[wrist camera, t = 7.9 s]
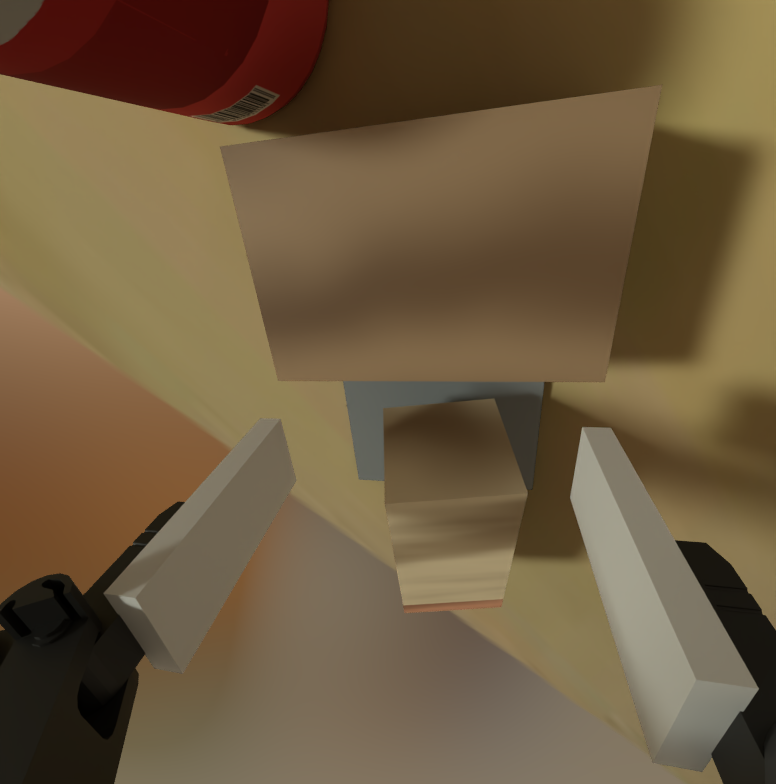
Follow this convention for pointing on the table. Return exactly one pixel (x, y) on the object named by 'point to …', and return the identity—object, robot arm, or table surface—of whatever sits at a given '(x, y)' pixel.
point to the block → (451, 503)
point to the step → (447, 241)
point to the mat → (512, 400)
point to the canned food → (168, 51)
